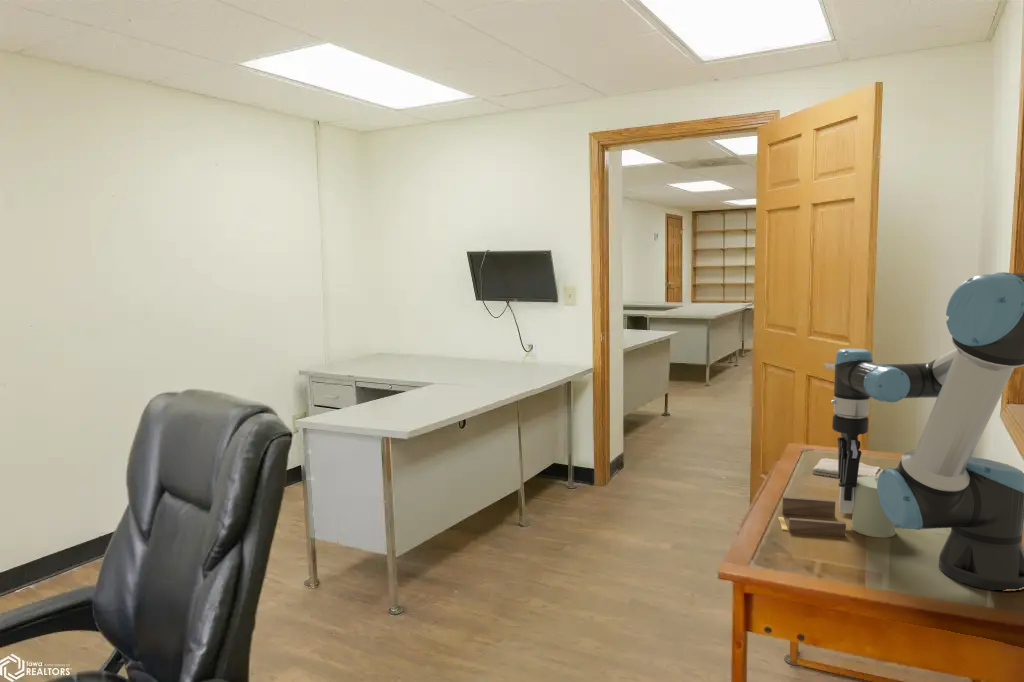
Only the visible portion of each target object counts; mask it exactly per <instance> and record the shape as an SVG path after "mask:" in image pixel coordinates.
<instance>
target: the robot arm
mask: <svg viewBox="0 0 1024 682" xmlns="http://www.w3.org/2000/svg"><path fill="white" fill-rule="evenodd" d="M945 316H946V317H948V319H946V327H947V330H948V332H949V333H950V335H951V336H952V337H951V341H952V344H953V346H954V347H955V348H954V349H953V350H950V351H949V352H947V353H945V354H943V355H941V356H939V357H937V358H935V359H934V360H932V361H929V362H923V363H920V362H918V363H917V362H916V363H887V364H886V363H878V362H873V354H872V352H871V351H870V350H869V349H864V348H840V349H839V350H837V352H836V355H835V363H834V382H833V383H834V385H833V386H834V387H833V392H834V393H833V399H832V400H831V401H830V404H832V405H833V407H832V408H833V410H832V411H833V413H834V414H833V415H832V423H831V427H832V428H831V429H832V430H833V431H835V432H837V433H840V436H838V437H837V447H838V449H837V450H838V451H837V454H838V455H837V458H838V459H837V460H838V479H839V481H838V487H839V496H838V497H839V498H838V500H839V501H838V511H839V513H841V514H852V515H853V494H854V487H856V486H857V477H858V469H859V462H860V460H861V456H862V450H859V449H860V448H861V441H860V440H859V436H860V435H865V434H867V433H868V431H869V421H870V420H869V417H868V416H869V415H870V405H871V404H870V403H871V398H872V399H874V400H877V401H879V402H886V403H897V402H899V401H901V400H903V399H917V398H918V399H919V398H921V399H922V398H925V399H927V398H928V399H929V398H932V399H933V398H935V399H936V400H935V402H934V404H933V407H932V410H931V411H930V414H929V416H928V418H927V421H926V423H925V425H924V428H923V430H922V433H921V434H920V437H919V439H918V442H917V444H916V447H915V448H913V449H909V450H907V451H905V452H904V453H903V455H902V456H901V458H900V461H899V464H898V465H897V467H895V468H892V467H889V468H885V469H882V470H883V471H882V472H881V473H880V474H879V476H878V480H877V493H878V497H879V501H880V504H881V507H882V509H883V511H884V513H885V515H886V516H887V518H888V519H889V520H890V521H891V522H892V523H893V524H894V525H895V527H898V528H899V529H906V530H915V531H916V530H917V531H920V530H929V529H930V530H931V529H951V530H950V533H949V535H948V536H947V539H946V541H945V542H944V545H943V547H942V548H941V551H940V552H939V557H938V568H939V570H941V572H942V573H943V574H945V575H946V576H948V578H951V579H953V580H955V581H957V582H959V583H962V584H965V585H968V586H970V587H971V586H972V587H974V588H978V589H979V588H980V589H983V590H988V591H994V590H1006V589H1019V588H1022V587H1024V546H1023V533H1024V531H1023V530H1024V472H1023V471H1022V470H1021V469H1019V468H1017V467H1015V466H1012V465H1010V464H1006V463H1003V462H1000V461H996V460H992V459H987V458H982V457H976V456H973V454H974V452H975V450H976V448H977V446H978V443H979V442H980V440H981V437H982V435H983V433H984V431H985V429H986V427H987V425H988V424H989V421H990V419H991V417H992V415H993V413H994V411H995V409H996V407H997V405H998V402H999V400H1000V398H1001V397H1002V394H1003V393H1004V391H1005V388H1006V386H1007V384H1008V382H1009V380H1010V378H1011V376H1012V374H1013V372H1014V370H1015V369H1016V368H1020V367H1024V273H1019V272H1018V273H1011V272H1007V271H1006V272H1005V271H1003V272H993V273H988V274H986V273H985V274H979V275H974V276H973V277H970V278H968V279H966V280H965V281H963V282H962V283H960V285H958V286H957V287H956V289H955V290H954V292H953V293H952V295H950V298H949V301H948V303H947V307H946V312H945Z"/></svg>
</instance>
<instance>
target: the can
mask: <svg viewBox="0 0 1024 682" xmlns="http://www.w3.org/2000/svg"><path fill="white" fill-rule="evenodd" d="M877 480H878V477H871V476H862V477H857V486H856V487H854V500H853V512H852V518H851V519H852V520H851V525H850V526H851V527H850V528H851V529H852V530H853V531H855V532H856V533H857V534H861V535H864V536H867V537H872V538H879V539H881V538H882V539H886V538H892V537H894V536H895V535H896V525H894V524H893V523H892V522H891V521H890V520H889V519H888V518H887V516H886V515H885V513H884V511H883V509H882V507H881V504H880V501H879V497H878V493H877Z"/></svg>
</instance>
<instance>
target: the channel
mask: <svg viewBox="0 0 1024 682" xmlns="http://www.w3.org/2000/svg"><path fill="white" fill-rule="evenodd" d="M781 507H782V510H781V512H782V514H784V515H785V514H786V515H788V514H789V515H797V516H799V515H801V516H812V517H813V516H814V517H825V518H835V517H836V500H835V499H824V498H810V497H795V496H782V506H781ZM777 519H778V521H779V525H780V528H781V531H786V532H789V533H797V534H798V533H799V534H808V535H809V534H810V535H820V536H822V535H823V536H833V537H844V538H845V537H846V533H847V532H846V529H847V524H846V522H845V521H834V520H821V519H809V518H808V519H807V518H797V517H794V518H793V517H788V526H787V524H786V521H785V518H784V517H783V516H778V517H777Z"/></svg>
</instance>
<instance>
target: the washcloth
mask: <svg viewBox="0 0 1024 682" xmlns="http://www.w3.org/2000/svg"><path fill="white" fill-rule="evenodd" d="M883 470H884V469H882V468H881V467H880V466H873V465H868V464H866V463H863V462H860V461H859V469H858V477H862V476H871V477H878V476H879V474H880V473H881V472H882V471H883ZM811 471H812V472H811V473H812V474H814V475H818V476H823V475H824V477H829V476H831V478H835V477H836V479H837V478H838V459H833V458H821V459H819V461H818V462H817V464H816V465H815V466H814V467H813V468H812V470H811ZM838 479H839V478H838Z"/></svg>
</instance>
